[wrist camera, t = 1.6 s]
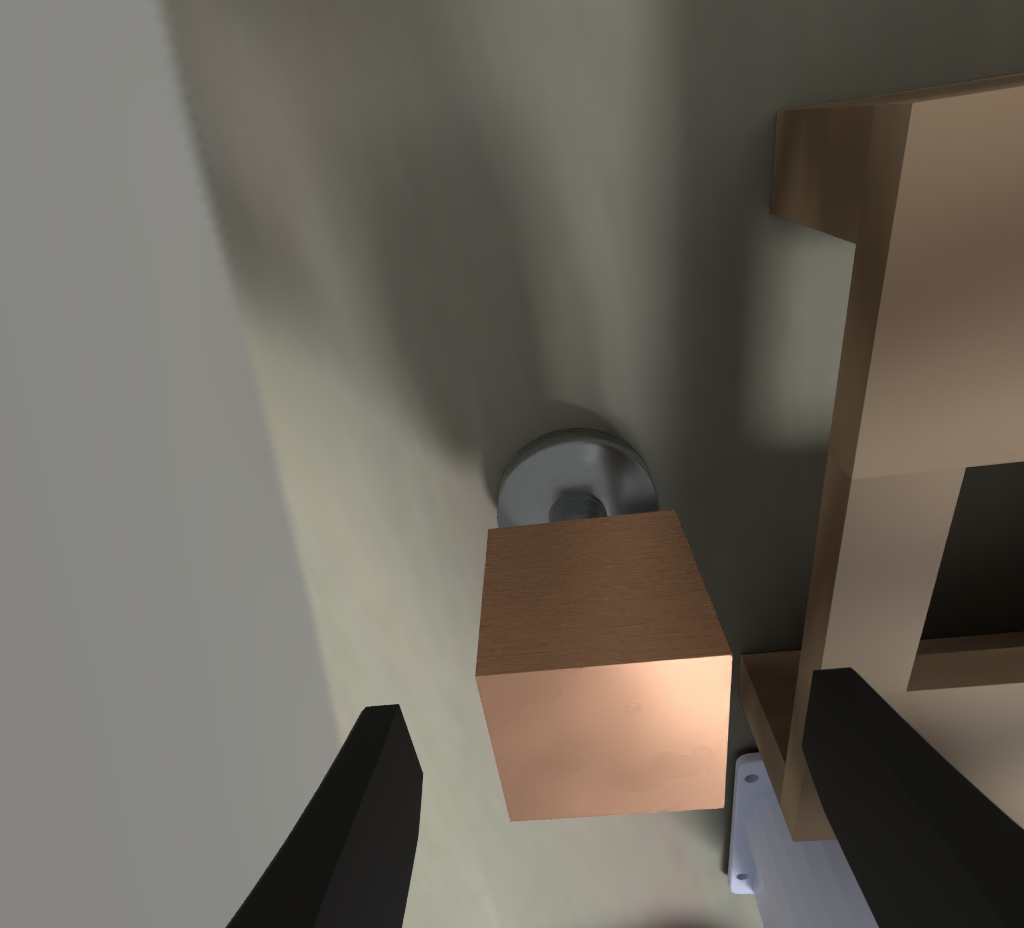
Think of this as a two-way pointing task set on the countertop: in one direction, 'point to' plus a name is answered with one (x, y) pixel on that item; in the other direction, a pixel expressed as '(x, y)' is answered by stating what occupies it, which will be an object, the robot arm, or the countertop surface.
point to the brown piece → (598, 641)
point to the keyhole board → (907, 420)
